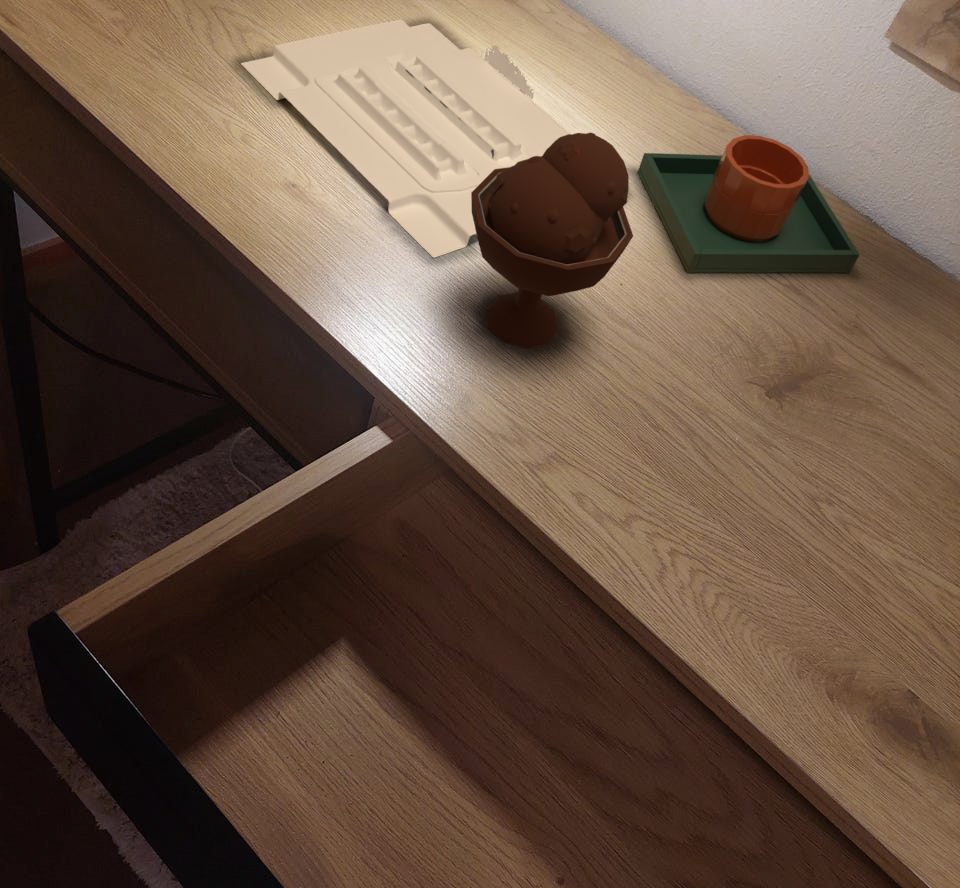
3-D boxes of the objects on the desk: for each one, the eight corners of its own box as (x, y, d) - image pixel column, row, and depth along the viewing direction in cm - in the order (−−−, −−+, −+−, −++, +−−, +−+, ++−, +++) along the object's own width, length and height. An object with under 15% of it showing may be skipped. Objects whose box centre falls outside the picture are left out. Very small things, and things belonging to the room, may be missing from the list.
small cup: (763, 192, 94) (789, 136, 90) (793, 244, 90) (822, 188, 86) (691, 190, 92) (714, 133, 88) (719, 243, 88) (744, 186, 84)
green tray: (790, 176, 97) (799, 157, 96) (849, 272, 90) (860, 254, 88) (637, 171, 93) (644, 152, 91) (686, 272, 86) (695, 253, 84)
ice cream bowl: (518, 254, 83) (566, 72, 71) (623, 338, 79) (692, 162, 68) (418, 304, 77) (452, 115, 66) (526, 397, 74) (583, 216, 62)
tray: (434, 259, 81) (441, 217, 78) (238, 75, 92) (237, 32, 89) (624, 191, 91) (636, 152, 88) (426, 33, 102) (431, -7, 99)
